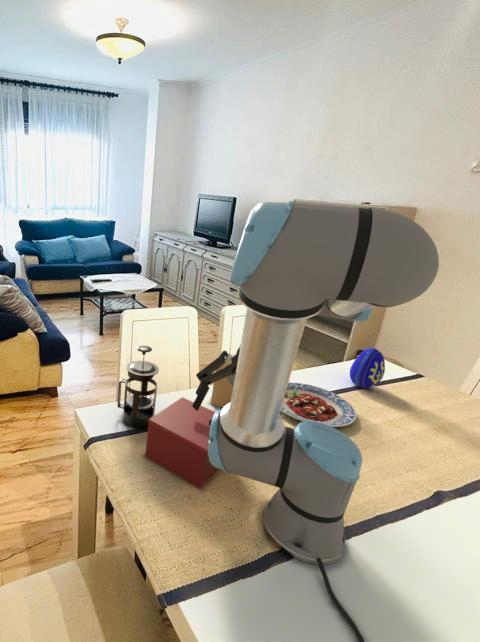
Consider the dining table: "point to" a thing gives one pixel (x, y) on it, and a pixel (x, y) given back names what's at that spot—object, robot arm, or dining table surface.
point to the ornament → (368, 368)
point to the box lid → (186, 423)
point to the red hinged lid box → (178, 457)
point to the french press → (139, 392)
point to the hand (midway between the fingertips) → (219, 420)
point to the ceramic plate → (317, 405)
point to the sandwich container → (223, 389)
